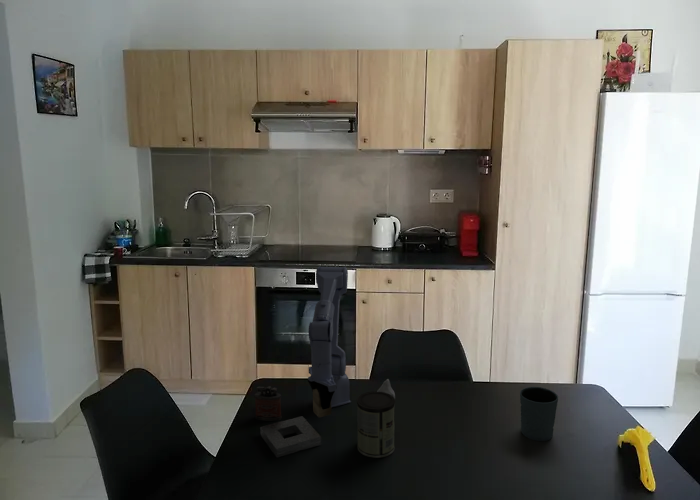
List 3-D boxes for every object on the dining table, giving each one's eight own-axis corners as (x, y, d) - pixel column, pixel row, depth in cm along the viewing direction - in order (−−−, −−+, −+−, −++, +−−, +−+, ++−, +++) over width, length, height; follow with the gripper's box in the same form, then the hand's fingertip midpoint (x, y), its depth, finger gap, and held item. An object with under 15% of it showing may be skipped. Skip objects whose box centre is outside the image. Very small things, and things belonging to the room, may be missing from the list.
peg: (325, 408, 156) (325, 386, 155) (331, 414, 153) (331, 391, 151) (313, 411, 154) (312, 389, 153) (319, 417, 151) (318, 395, 149)
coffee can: (363, 435, 150) (363, 388, 147) (398, 441, 146) (399, 394, 144) (351, 454, 140) (351, 405, 138) (389, 461, 137) (389, 411, 134)
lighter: (282, 415, 161) (281, 385, 159) (280, 421, 158) (279, 390, 156) (257, 414, 162) (255, 384, 160) (254, 419, 159) (252, 389, 157)
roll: (380, 373, 163) (397, 376, 160) (380, 409, 165) (397, 412, 163) (373, 380, 157) (391, 383, 155) (373, 418, 159) (391, 421, 157)
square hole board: (302, 423, 156) (302, 416, 156) (321, 444, 145) (320, 436, 144) (260, 435, 150) (260, 426, 149) (276, 457, 139) (276, 449, 138)
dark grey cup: (556, 428, 152) (559, 390, 150) (554, 446, 143) (556, 405, 141) (520, 421, 156) (522, 384, 154) (515, 438, 147) (517, 398, 145)
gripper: (298, 355, 155) (299, 397, 157) (319, 373, 142) (320, 419, 145) (320, 350, 158) (321, 392, 161) (342, 367, 146) (343, 413, 148)
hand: (322, 404), depth 153 cm, fingers closed on peg, 4 cm apart
